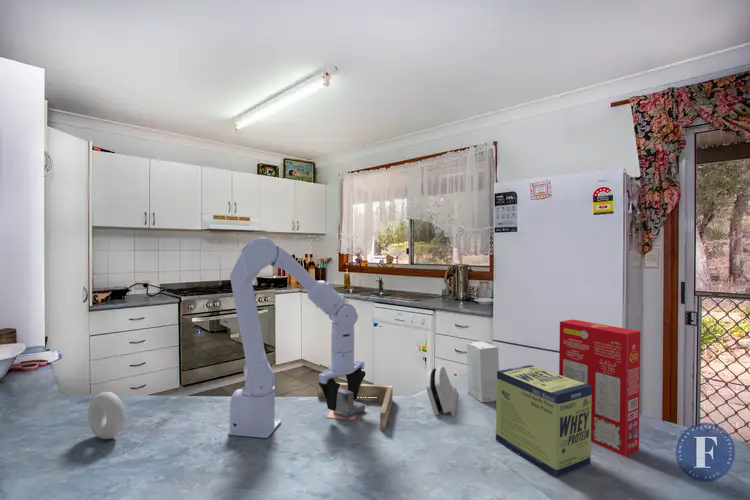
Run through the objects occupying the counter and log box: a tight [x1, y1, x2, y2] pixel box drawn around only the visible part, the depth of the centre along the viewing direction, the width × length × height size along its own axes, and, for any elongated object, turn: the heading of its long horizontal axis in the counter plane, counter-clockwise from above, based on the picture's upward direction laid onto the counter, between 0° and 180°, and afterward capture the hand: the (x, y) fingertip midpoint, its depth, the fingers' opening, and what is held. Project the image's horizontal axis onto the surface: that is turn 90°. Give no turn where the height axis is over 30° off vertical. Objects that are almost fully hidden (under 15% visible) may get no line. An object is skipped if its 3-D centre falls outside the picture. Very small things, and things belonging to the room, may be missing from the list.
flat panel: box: [326, 410, 357, 421], centre depth 97 cm, size 7×8×1 cm
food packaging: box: [558, 318, 642, 458], centre depth 85 cm, size 15×5×25 cm, turn 31°
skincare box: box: [466, 341, 500, 403], centre depth 108 cm, size 8×6×15 cm
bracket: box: [333, 388, 366, 420], centre depth 97 cm, size 6×5×6 cm
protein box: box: [495, 364, 592, 478], centre depth 79 cm, size 10×16×16 cm
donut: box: [87, 391, 126, 440], centre depth 83 cm, size 10×3×10 cm, turn 65°
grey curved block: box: [425, 366, 458, 418], centre depth 104 cm, size 17×5×10 cm, turn 165°
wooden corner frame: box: [316, 382, 394, 431], centre depth 98 cm, size 21×17×4 cm
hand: (342, 404), depth 95 cm, fingers open, 7 cm apart
